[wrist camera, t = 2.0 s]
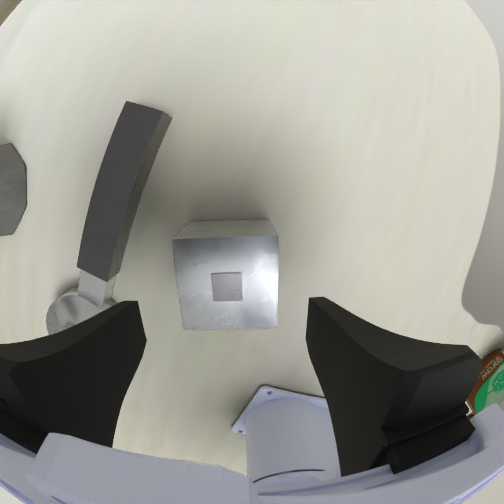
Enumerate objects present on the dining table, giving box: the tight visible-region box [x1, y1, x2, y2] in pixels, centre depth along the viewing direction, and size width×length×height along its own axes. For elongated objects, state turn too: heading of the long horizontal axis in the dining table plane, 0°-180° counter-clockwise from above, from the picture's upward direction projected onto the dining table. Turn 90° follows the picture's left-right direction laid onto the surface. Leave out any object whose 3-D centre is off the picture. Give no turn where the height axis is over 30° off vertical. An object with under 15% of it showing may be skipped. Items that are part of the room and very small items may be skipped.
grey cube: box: [172, 219, 278, 330], centre depth 17 cm, size 5×5×5 cm
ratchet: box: [46, 101, 172, 335], centre depth 16 cm, size 8×22×5 cm, turn 156°
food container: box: [466, 349, 504, 415], centre depth 20 cm, size 12×6×10 cm, turn 138°
